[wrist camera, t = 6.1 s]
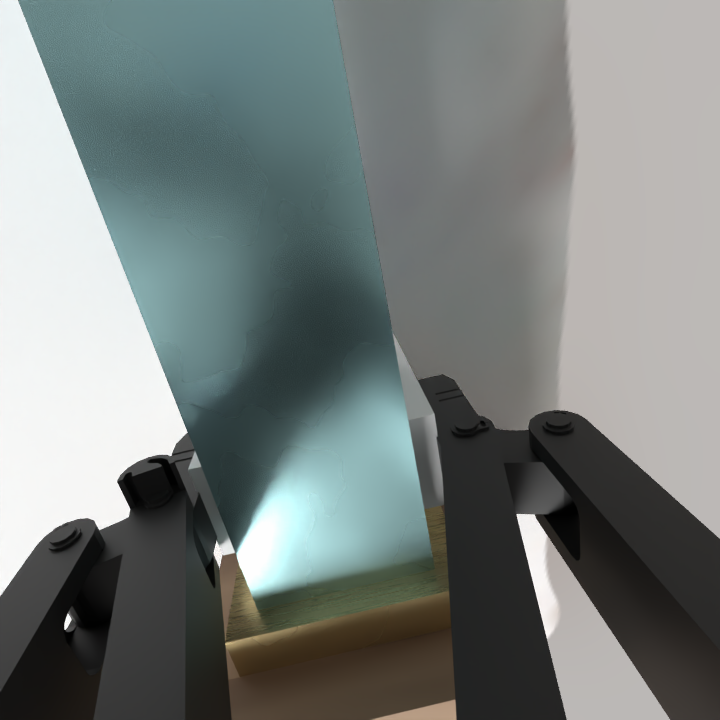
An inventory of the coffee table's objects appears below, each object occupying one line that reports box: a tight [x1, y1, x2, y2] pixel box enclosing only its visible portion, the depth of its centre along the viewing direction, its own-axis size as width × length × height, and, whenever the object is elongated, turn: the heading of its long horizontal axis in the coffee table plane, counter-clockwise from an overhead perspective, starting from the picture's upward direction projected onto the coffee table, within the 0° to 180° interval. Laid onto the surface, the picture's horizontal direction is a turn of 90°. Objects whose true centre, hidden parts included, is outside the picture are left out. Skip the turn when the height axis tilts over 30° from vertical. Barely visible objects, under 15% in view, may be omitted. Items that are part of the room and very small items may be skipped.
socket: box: [219, 505, 457, 720], centre depth 17 cm, size 8×8×12 cm
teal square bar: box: [18, 0, 451, 677], centre depth 11 cm, size 28×6×6 cm, turn 11°
